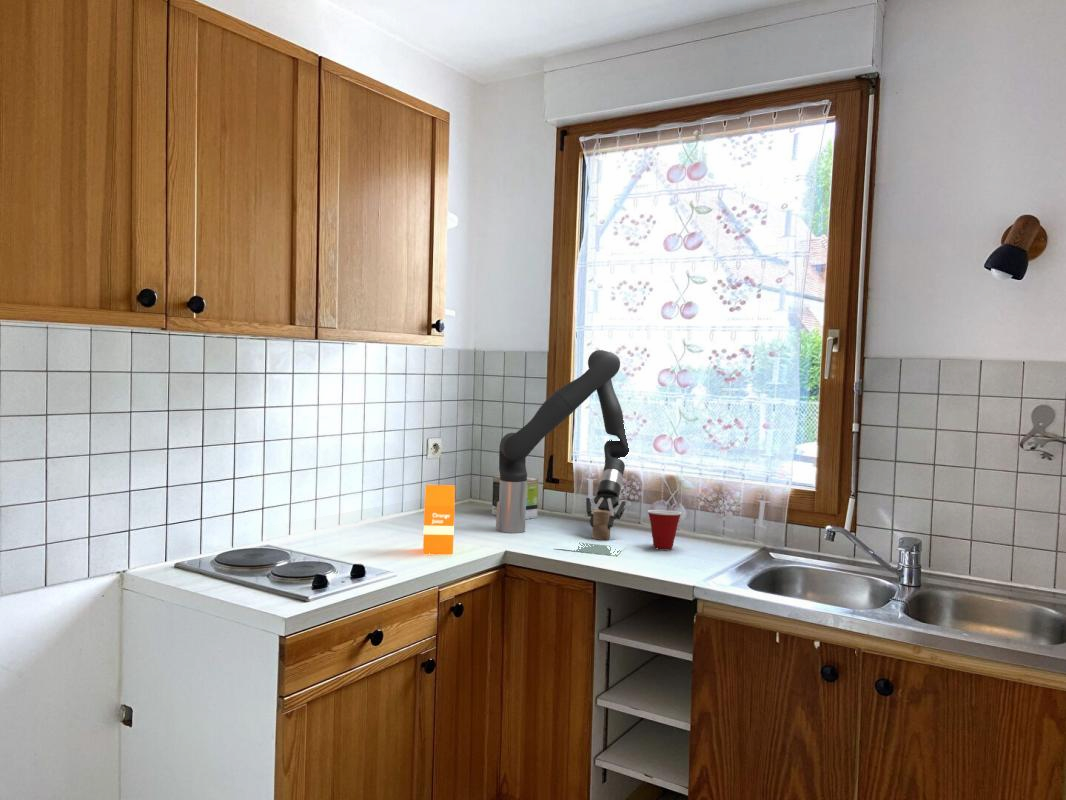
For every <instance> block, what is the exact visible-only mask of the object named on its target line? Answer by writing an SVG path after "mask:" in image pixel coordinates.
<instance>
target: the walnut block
mask: <svg viewBox="0 0 1066 800" xmlns="http://www.w3.org/2000/svg"><path fill="white" fill-rule="evenodd" d="M610 512H611V511H607V510H595V511H594V514H593V527H592V538H593V540H605V541H608V540H609V539H610V538H611V528H610V529H608V527H607V525H608V521H609V517H610Z"/></svg>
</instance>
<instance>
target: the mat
mask: <svg viewBox="0 0 1066 800" xmlns="http://www.w3.org/2000/svg"><path fill="white" fill-rule="evenodd" d="M580 543H582V544H583V545H584V546H585V544H586V546H588V547H586V546H585V547H584V546H583V545H581V544H580ZM584 543H585V542H579V544H580V545H581V546H583V547H584V548H583V547H581V549H579V548H580V547H579V546H578V549H577V550H576V551H578V550H579V551H578V552H577V553H583V552H586V553H585V554H592V553H595V554H594V555H601V554H605V555H604V556H610V555H611V554H612V553H610V551H611V547H610V546H611V545H605V544H595V543H588V542H586V543H585V544H584ZM588 544H589V545H590V546H591V547H590V546H589V545H588ZM593 545H594V546H593ZM607 546H609V547H610V550H609V549H608V548H607ZM615 550H616V549H615ZM574 551H575V550H574ZM574 551H573V552H574ZM619 551H620V550H619ZM619 551H617V553H618V552H619ZM614 552H615V551H614ZM614 552H613V553H614ZM615 555H616V554H615Z"/></svg>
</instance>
